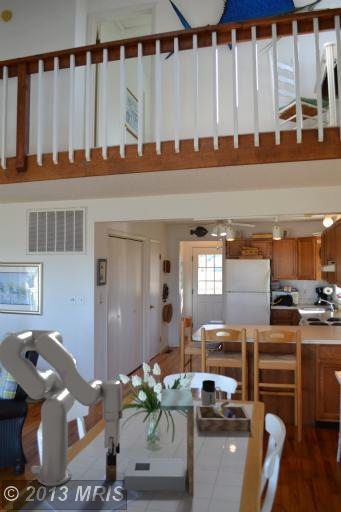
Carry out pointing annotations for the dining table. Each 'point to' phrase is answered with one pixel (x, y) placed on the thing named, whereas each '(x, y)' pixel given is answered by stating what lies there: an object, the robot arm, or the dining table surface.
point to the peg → (111, 471)
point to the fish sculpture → (222, 411)
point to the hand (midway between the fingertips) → (113, 459)
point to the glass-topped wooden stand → (184, 401)
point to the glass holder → (209, 393)
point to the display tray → (222, 420)
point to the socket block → (155, 474)
